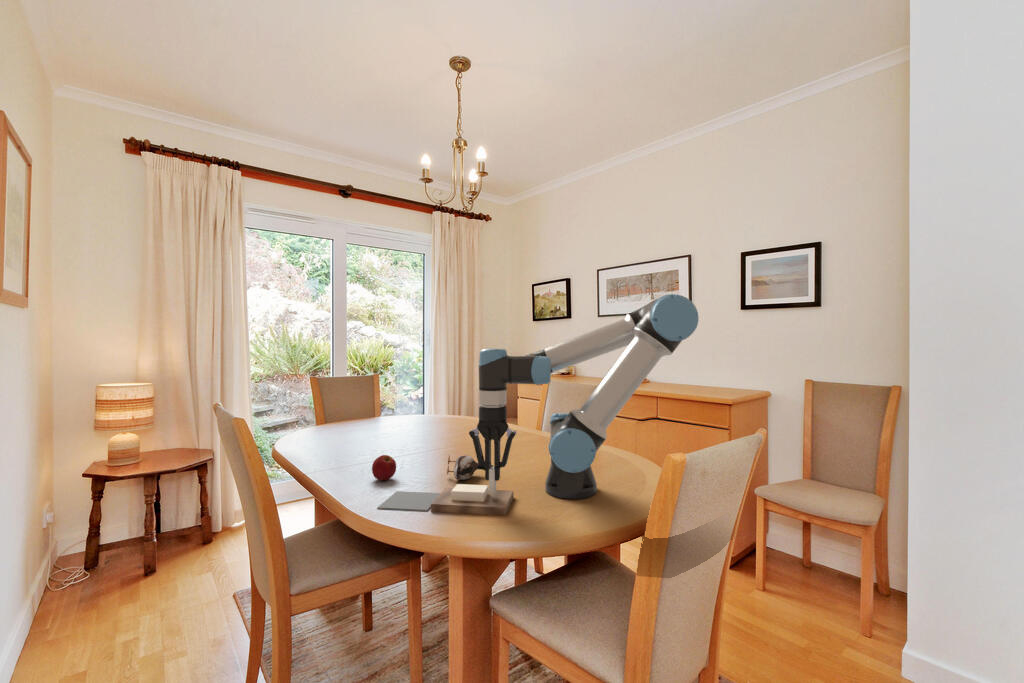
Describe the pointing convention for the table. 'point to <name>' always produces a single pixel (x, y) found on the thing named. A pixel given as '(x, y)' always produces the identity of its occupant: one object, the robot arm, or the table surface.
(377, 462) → the apple
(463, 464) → the decorative duck model
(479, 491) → the tile
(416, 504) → the mat
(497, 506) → the brown wooden board
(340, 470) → the table surface
